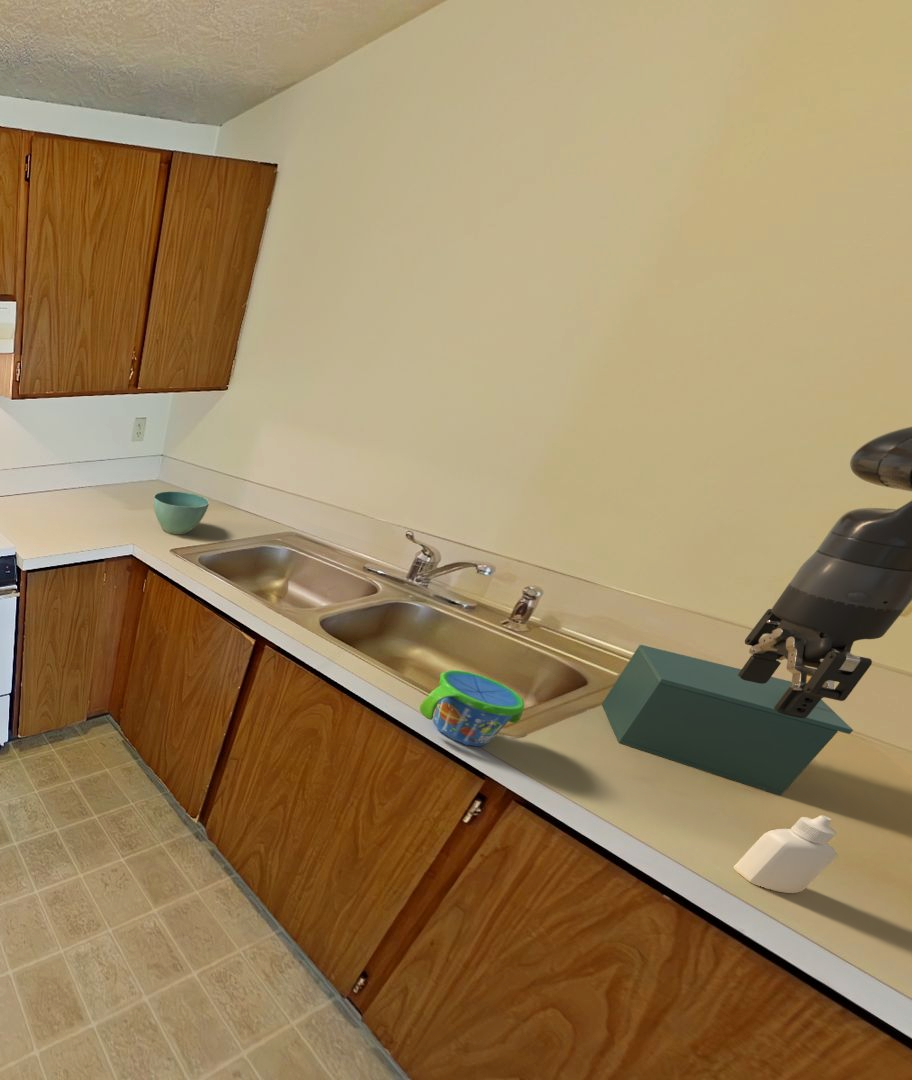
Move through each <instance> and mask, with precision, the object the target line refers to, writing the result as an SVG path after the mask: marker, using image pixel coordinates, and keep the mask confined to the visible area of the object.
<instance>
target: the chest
mask: <svg viewBox="0 0 912 1080" xmlns="http://www.w3.org/2000/svg"><path fill="white" fill-rule="evenodd" d="M601 706H602V708H603V710H604V711H603V712H604V713H605V715H606V718H607V720H608V722H609V725H610V727H611V729H612V732H613V733H614V736H615V738H616V741H617V743H618V744H621V745H624V746H627V747H630V748H634V749H636V750H639V751H643V752H645V753H649V754H652V755H654V756H657V757H661V758H664V759H667V760H670V761H673V762H676V763H679V764H682V765H686V766H688V767H691V768H695V769H698V770H700V771H704V772H707V773H711V774H712V775H716V776H719V777H721V778H724V779H729V780H731V781H734V782H736V783H741V784H744V785H746V786H749V787H752V788H755V789H759V790H762V791H764V792H768V793H771V794H774V795H776V796H777V795H778V796H779V797H780V796H782V795H783V794H784V793H785V792H786V791H787V789H789V787H790V786H791V785H792V784H793V782H795V781H796V780H797V778H798V777H799V776H800V775H801V774H802V773H803V772H804V770H805V769H806V768H807V767H808V766H809V764H810V763H811V762H812V761H813V760H814V759H815V758H816V757H817V756H818V755H819V754H820V752H821V751H822V750H823V749H824V748H825V747H826V746H827V745H828V743H829V742H830V741H831V740H832V739H833V738H834V737H835V736H836V734H837V733H839V731H836V730H832V729H829V728H825V727H821V726H818V725H814V724H810V723H807V722H803V721H799V720H796V719H792V718H788V717H784V716H781V715H777V714H773V713H770V712H766V711H762V710H759V709H755V708H751V707H748V706H744V705H740V704H736V703H733V702H729V701H725V700H722V699H718V698H714V697H711V696H707V695H703V694H700V693H696V692H692V691H689V690H685V689H681V688H677V687H674V686H670V685H666V684H663V683H659V681H658V680H657V678H656V676H655V675H654V673H653V672H652V670H651V668H650V667H649V665H648V664H647V662H646V660H645V659H644V657H643V656H642V654H641V652H640V651H639V649H638V647H637V648H636V650H635V651H634V653H633V654H632V656H631V657H630V659H629V661H628V662H627V664H626V665H625V667H624V668H623V670H622V671H621V673H620V674H619V676H618V677H617V679H616V681H615V683H614V684H613V686H612V687H611V689H610V691H609V692H608V693H607V695H606V697H605V698H604V700H603V701H602V703H601Z"/></svg>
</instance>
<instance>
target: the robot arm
mask: <svg viewBox="0 0 912 1080" xmlns="http://www.w3.org/2000/svg"><path fill="white" fill-rule="evenodd" d="M849 467H850V470H851V472H852V474H854V475H855V476H856V477H857V478H859V479H861V480H862V481H865V482H868V483H870V484H872V485H876V486H880V487H885V488H889V489H890V488H891V489H895V490H901V491H905V492H910V493H912V426H907V427H903V428H899V429H896V430H893V431H889V432H887V433H884V434H881V435H879V436H876V437H875V438H872V439H871V440H868V441H867V442H866V443H864V444H862V445H861V446H860V447H859V448H858V449H857V450H856V451H855V452H854V453H853V454H852V455H851V458H850V460H849ZM911 603H912V499H911V500H910V501H908V502H907V503H905V504H903V505H902V506H900V507H898V508H883V507H862V508H854V509H852V510H849V511H847V512H845V513H843V514H842V515H841V516H840V517H839V518H838V519H837V521H835V523H834V524H833V526H832V527H831V528H830V530H829V531H828V533H827V534H826V536H825V537H824V539H823V540H822V542H821V543H820V545H818V547H817V549H816V550H815V551H814V553H813V554H811V556H809V557H808V559H806V560H805V561H804V563H802V564H801V566H800V567H799V568H798V570H797V572H795V574H794V576H793V577H792V579H791V581H790V582H789V583H788V584H787V586H786V587H785V589H784V591H783V592H782V593H781V594H780V596H779V597H778V599H777V600H776V602H775V603H774V604H773V606H772V608H769V609H766V611H765V612H764V614H763V615H762V616H761V618H760V619H759V621H758V622H756V624H755V626H754V627H753V629H752V630H751V631H750V632H749V634H748V635H747V636H746V637H745V639H744V645H746V646H751V647H750V648H749V650H748V651H749V654H750V655H751V656H749V658H748V660H747V661H746V662H745V663H744V665H743V667H741V669H742V670H741V671H740V672H739V674H738V676H739V677H740V678H741V679H743V680H746V681H750V682H755V683H760V684H764V683H767V682H768V680H769V679H770V678H771V677H773V675H774V674H775V672H776V671H777V669H778V668H779V667H780V665H781V664H782V662H780V661H784V660H785V659H786V670H787V671H788V672H789V673H791V674H792V677H791V682H792V685H791V687H789V689H788V690H787V691H786V692H785V694H784V695H783V696H782V698H781V699H780V700H779V702H778V703H777V704H776V706H775V707H774V708H775V710H776V711H777V712H779V713H780V714H784V715H788V716H792V717H797V718H806V717H807V716H808V715H809V714H810V712H811V711H812V710H813V709H814V707H815V706H816V705H817V704H818V702H819V701H820V700H821V699H822V700H823V699H824V698H825V699H830V700H834V701H839V702H845V701H846V700H847V698H848V697H849V695H850V694H851V693H852V691H853V690H854V689H855V687H856V686H857V685H858V684H859V682H860V681H861V680H862V678H863V677H864V675H865V674H866V673H867V671H868V670H869V669H870V667H871V666H872V663H873V661H872V658H869V657H865V656H859V655H855V654H852V653H851V650H852V647H853V646H854V643H855V642H857V641H861V640H876V639H880V638H882V637H884V636H885V635H886V633H887V632H888V631H889V629H890V628H891V627H892V626H893V625H894V623H895V622H896V621H897V619H899V617H900V616H901V614H902V613H903V612H904V611H905V610H906V609H907V607H908V606H909V604H911ZM765 634H767V635H765ZM763 635H764V636H763ZM807 675H808V676H812V677H811V678H810V680H809V681H808V682H807V683H806V681H807ZM835 682H836V683H838V684H837V685H836V686H835Z"/></svg>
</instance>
